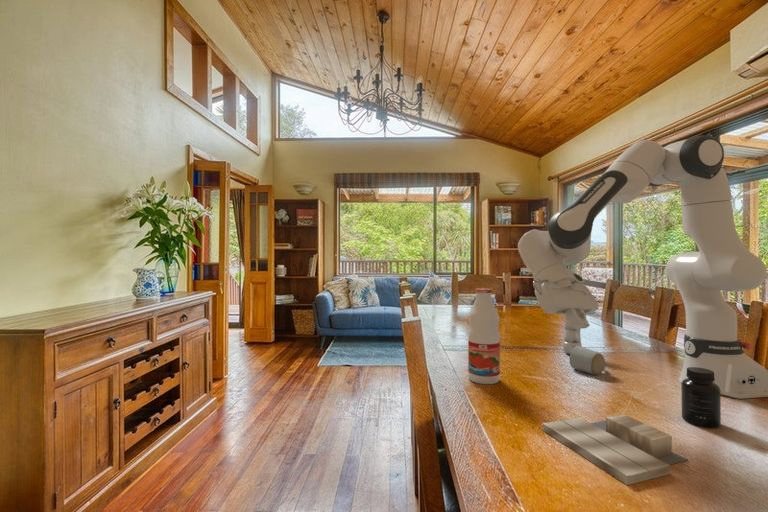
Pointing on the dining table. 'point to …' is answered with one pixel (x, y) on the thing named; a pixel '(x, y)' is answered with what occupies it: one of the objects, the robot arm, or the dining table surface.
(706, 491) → the dining table surface
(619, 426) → the gray rectangular block
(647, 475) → the floor panel
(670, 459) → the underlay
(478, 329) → the fruit juice
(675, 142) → the robot arm
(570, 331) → the plastic bottle
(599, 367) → the grey cylinder
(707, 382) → the supplement bottle
